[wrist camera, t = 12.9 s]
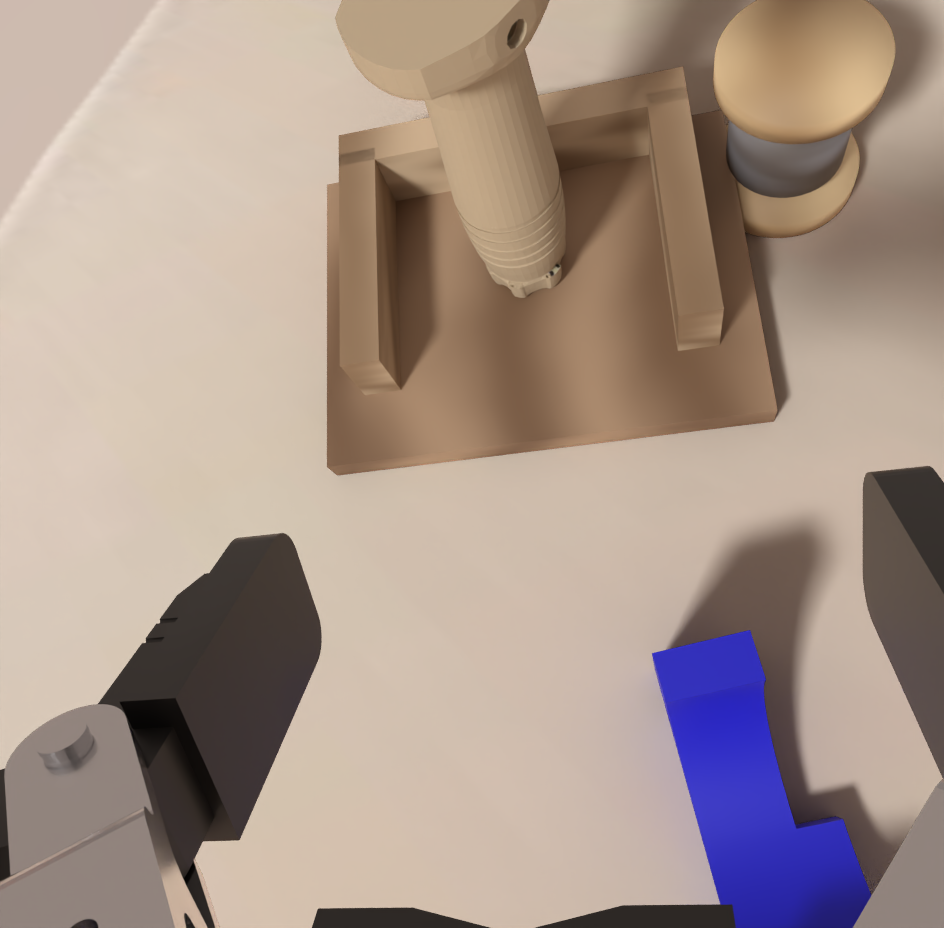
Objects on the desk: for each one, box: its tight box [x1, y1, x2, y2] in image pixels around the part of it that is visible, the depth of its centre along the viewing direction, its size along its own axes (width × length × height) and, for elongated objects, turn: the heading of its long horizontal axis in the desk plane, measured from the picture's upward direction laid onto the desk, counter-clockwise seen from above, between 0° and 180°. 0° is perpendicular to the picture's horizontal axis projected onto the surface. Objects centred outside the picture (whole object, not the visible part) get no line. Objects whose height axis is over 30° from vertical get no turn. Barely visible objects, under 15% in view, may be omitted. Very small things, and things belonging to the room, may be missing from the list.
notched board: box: [327, 67, 777, 475], centre depth 36 cm, size 18×14×4 cm
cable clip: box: [652, 630, 872, 928], centre depth 27 cm, size 12×4×6 cm, turn 12°
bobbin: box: [713, 0, 895, 238], centre depth 34 cm, size 6×6×7 cm
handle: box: [335, 0, 566, 298], centre depth 30 cm, size 5×6×15 cm
